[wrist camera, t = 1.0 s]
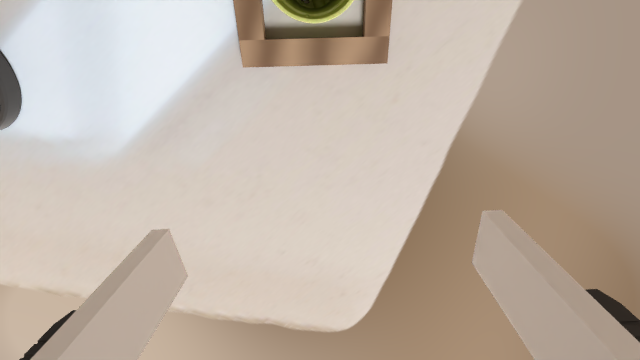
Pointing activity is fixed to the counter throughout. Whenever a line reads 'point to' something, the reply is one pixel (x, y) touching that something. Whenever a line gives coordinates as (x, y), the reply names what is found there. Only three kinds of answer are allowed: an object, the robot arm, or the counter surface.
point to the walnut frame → (313, 40)
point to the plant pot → (313, 9)
